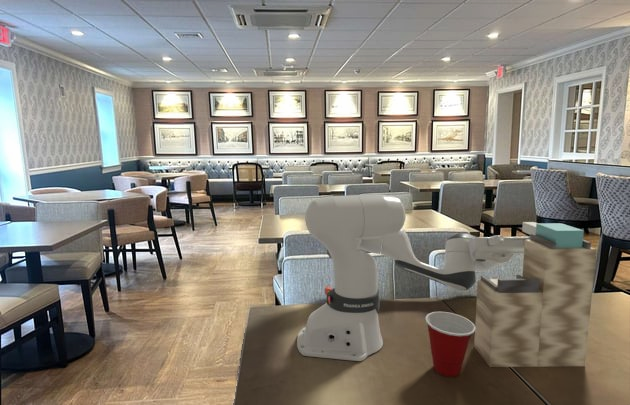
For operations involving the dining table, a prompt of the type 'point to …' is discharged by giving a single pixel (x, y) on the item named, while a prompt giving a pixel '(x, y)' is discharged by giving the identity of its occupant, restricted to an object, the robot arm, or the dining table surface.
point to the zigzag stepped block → (538, 308)
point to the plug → (556, 233)
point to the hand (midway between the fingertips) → (517, 237)
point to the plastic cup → (448, 341)
